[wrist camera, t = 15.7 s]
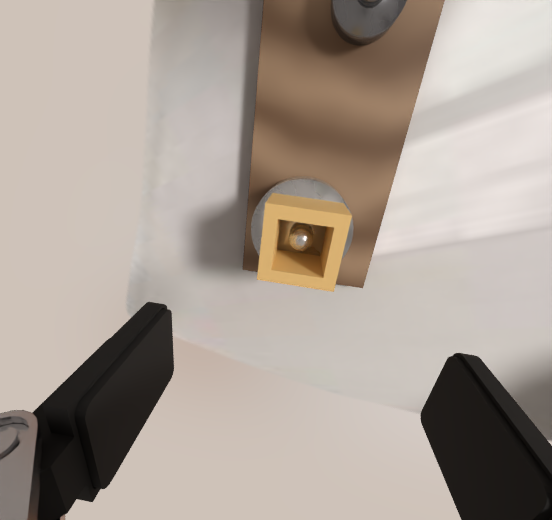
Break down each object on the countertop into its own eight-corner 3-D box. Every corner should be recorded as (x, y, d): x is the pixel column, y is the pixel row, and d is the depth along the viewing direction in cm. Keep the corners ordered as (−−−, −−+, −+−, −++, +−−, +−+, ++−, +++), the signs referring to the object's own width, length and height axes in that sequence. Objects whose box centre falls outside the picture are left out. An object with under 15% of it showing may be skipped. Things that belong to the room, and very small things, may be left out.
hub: (261, 169, 25) (249, 175, 20) (358, 182, 24) (372, 192, 19) (252, 258, 28) (240, 283, 23) (337, 271, 28) (345, 300, 23)
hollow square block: (272, 192, 23) (265, 202, 19) (343, 203, 22) (352, 215, 18) (264, 257, 25) (256, 279, 21) (329, 267, 25) (333, 291, 21)
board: (275, -106, 19) (273, -126, 18) (462, -90, 18) (475, -110, 17) (245, 264, 30) (242, 269, 29) (360, 281, 30) (362, 288, 29)
